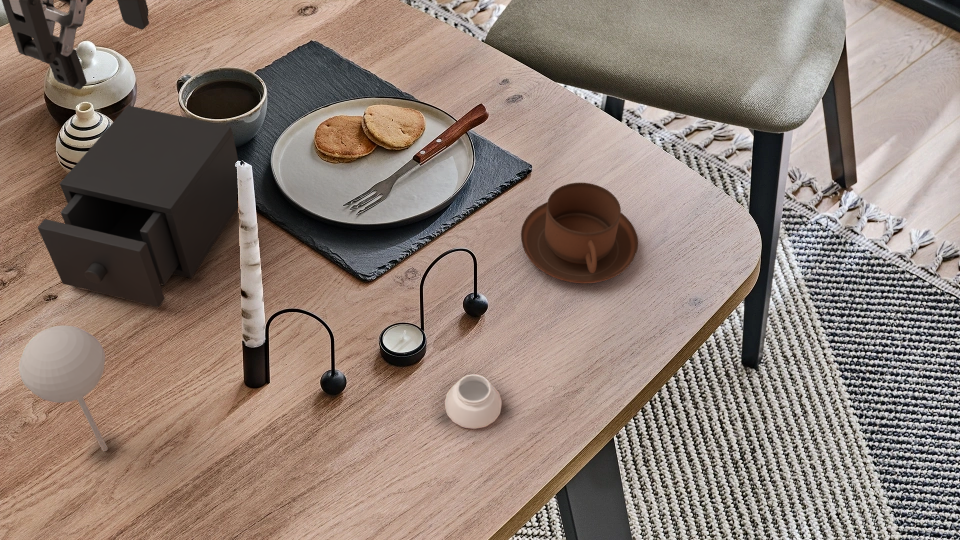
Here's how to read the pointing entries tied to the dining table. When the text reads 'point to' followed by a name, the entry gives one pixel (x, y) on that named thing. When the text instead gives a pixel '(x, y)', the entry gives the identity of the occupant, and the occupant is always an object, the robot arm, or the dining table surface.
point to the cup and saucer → (580, 235)
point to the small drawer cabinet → (165, 176)
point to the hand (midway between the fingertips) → (106, 53)
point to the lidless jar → (473, 402)
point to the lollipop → (64, 367)
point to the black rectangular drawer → (112, 249)
